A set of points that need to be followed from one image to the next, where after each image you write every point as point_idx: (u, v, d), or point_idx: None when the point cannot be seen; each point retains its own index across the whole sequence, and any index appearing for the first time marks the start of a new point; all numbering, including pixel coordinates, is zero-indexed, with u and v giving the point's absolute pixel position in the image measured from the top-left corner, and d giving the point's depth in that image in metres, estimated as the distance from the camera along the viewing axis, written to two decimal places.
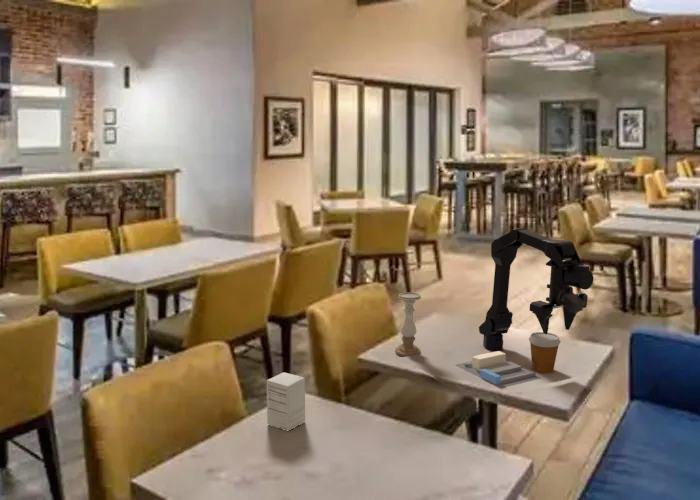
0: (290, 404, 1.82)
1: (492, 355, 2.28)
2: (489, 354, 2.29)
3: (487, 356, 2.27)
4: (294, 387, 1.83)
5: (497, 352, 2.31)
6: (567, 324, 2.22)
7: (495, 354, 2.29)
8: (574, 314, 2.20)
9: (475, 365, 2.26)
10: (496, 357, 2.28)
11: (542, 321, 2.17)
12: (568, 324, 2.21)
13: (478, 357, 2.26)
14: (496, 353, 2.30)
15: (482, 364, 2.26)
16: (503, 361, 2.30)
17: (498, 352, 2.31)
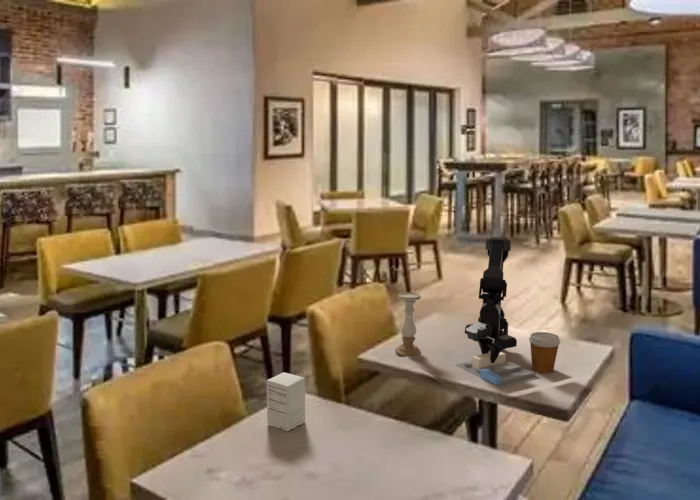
0: (290, 404, 1.82)
1: None
2: (489, 354, 2.29)
3: (487, 356, 2.27)
4: (294, 387, 1.83)
5: None
6: None
7: None
8: (491, 349, 2.25)
9: (475, 365, 2.26)
10: None
11: None
12: None
13: (478, 357, 2.26)
14: None
15: (482, 364, 2.26)
16: (503, 361, 2.30)
17: None
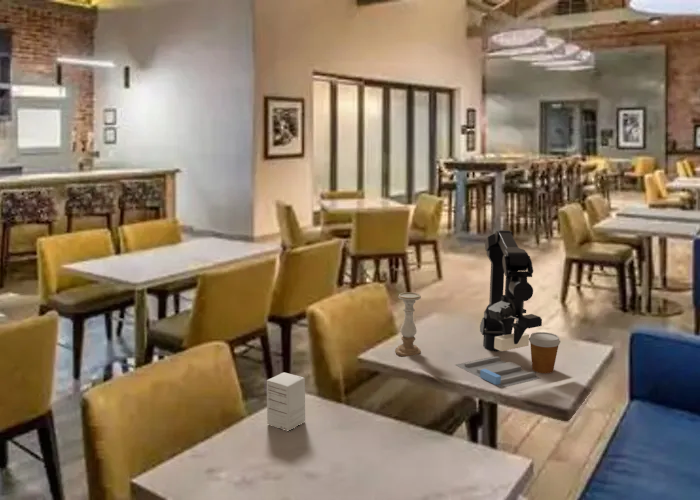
0: (290, 404, 1.82)
1: None
2: (511, 335, 2.19)
3: (510, 337, 2.17)
4: (294, 387, 1.83)
5: None
6: None
7: None
8: (515, 329, 2.15)
9: (497, 346, 2.16)
10: None
11: None
12: None
13: (501, 338, 2.16)
14: None
15: (504, 345, 2.15)
16: (526, 342, 2.20)
17: None
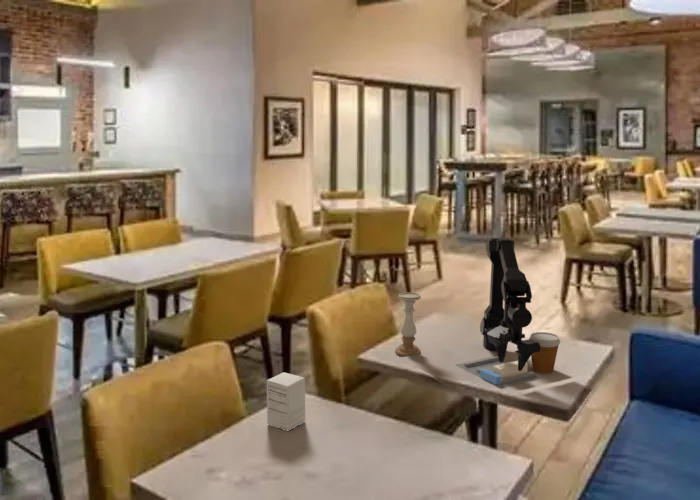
0: (290, 404, 1.82)
1: (514, 365, 2.20)
2: (510, 364, 2.20)
3: (508, 366, 2.19)
4: (294, 387, 1.83)
5: None
6: None
7: (517, 363, 2.21)
8: (519, 356, 2.14)
9: None
10: None
11: None
12: None
13: (499, 367, 2.18)
14: (517, 362, 2.22)
15: (503, 374, 2.17)
16: (525, 371, 2.22)
17: None
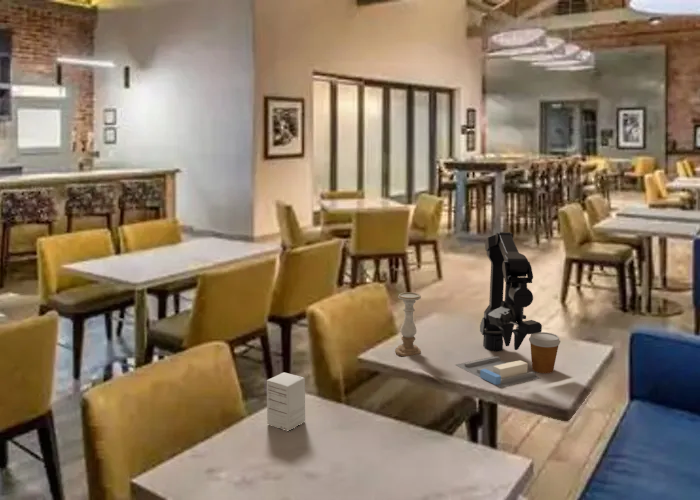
0: (290, 404, 1.82)
1: (514, 365, 2.20)
2: (510, 364, 2.20)
3: (508, 366, 2.19)
4: (294, 387, 1.83)
5: (519, 361, 2.23)
6: None
7: (517, 363, 2.21)
8: (515, 335, 2.15)
9: None
10: (518, 367, 2.20)
11: None
12: None
13: (499, 367, 2.18)
14: (517, 362, 2.22)
15: (503, 374, 2.17)
16: (525, 371, 2.22)
17: (520, 362, 2.22)
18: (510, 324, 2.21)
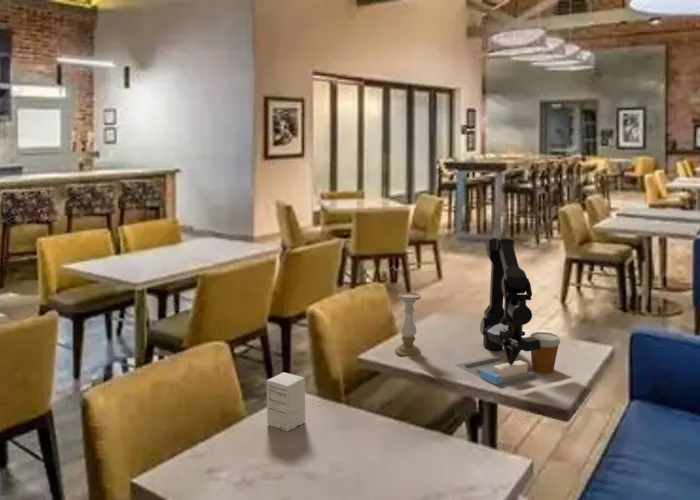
0: (290, 404, 1.82)
1: (514, 365, 2.20)
2: None
3: (508, 366, 2.19)
4: (294, 387, 1.83)
5: (519, 361, 2.23)
6: None
7: (517, 363, 2.21)
8: (510, 350, 2.17)
9: None
10: (518, 367, 2.20)
11: None
12: None
13: (499, 367, 2.18)
14: (517, 362, 2.22)
15: (503, 374, 2.17)
16: (525, 371, 2.22)
17: (520, 362, 2.22)
18: None
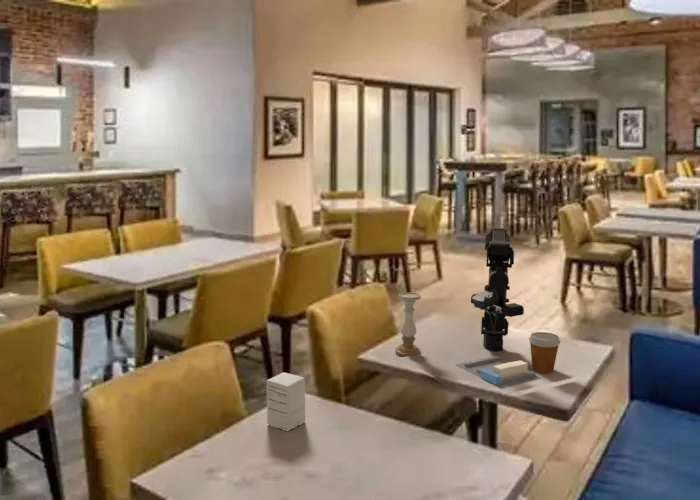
0: (290, 404, 1.82)
1: (514, 365, 2.20)
2: (510, 364, 2.20)
3: (508, 366, 2.19)
4: (294, 387, 1.83)
5: (519, 361, 2.23)
6: None
7: (517, 363, 2.21)
8: (495, 316, 2.24)
9: None
10: (518, 367, 2.20)
11: None
12: None
13: (499, 367, 2.18)
14: (517, 362, 2.22)
15: (503, 374, 2.17)
16: (525, 371, 2.22)
17: (520, 362, 2.22)
18: None
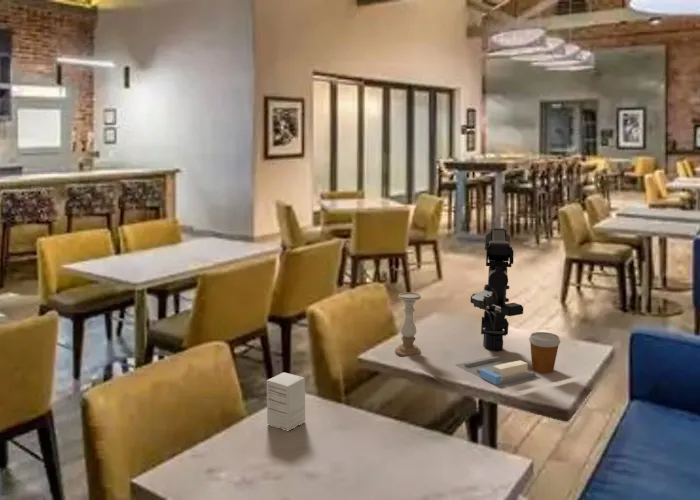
0: (290, 404, 1.82)
1: (514, 365, 2.20)
2: (510, 364, 2.20)
3: (508, 366, 2.19)
4: (294, 387, 1.83)
5: (519, 361, 2.23)
6: None
7: (517, 363, 2.21)
8: (494, 316, 2.24)
9: None
10: (518, 367, 2.20)
11: None
12: None
13: (499, 367, 2.18)
14: (517, 362, 2.22)
15: (503, 374, 2.17)
16: (525, 371, 2.22)
17: (520, 362, 2.22)
18: None
